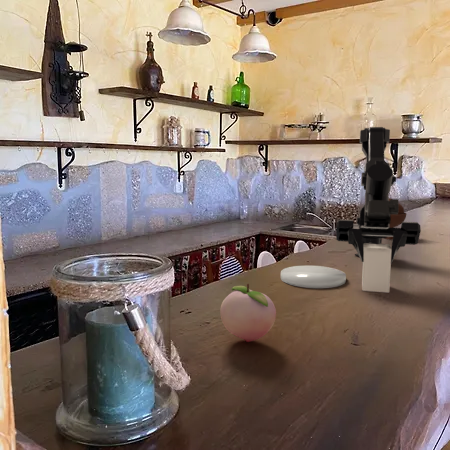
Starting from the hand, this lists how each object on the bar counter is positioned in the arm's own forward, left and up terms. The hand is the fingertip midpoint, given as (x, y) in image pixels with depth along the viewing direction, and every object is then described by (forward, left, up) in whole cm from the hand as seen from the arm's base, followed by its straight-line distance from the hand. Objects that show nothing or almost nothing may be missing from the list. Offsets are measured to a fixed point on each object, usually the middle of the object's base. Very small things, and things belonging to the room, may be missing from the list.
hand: (376, 261), depth 102 cm
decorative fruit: (+41, +12, -7) cm, 43 cm away
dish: (+7, -14, -7) cm, 17 cm away
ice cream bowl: (-54, -46, -7) cm, 71 cm away
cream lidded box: (-1, -1, -7) cm, 7 cm away
